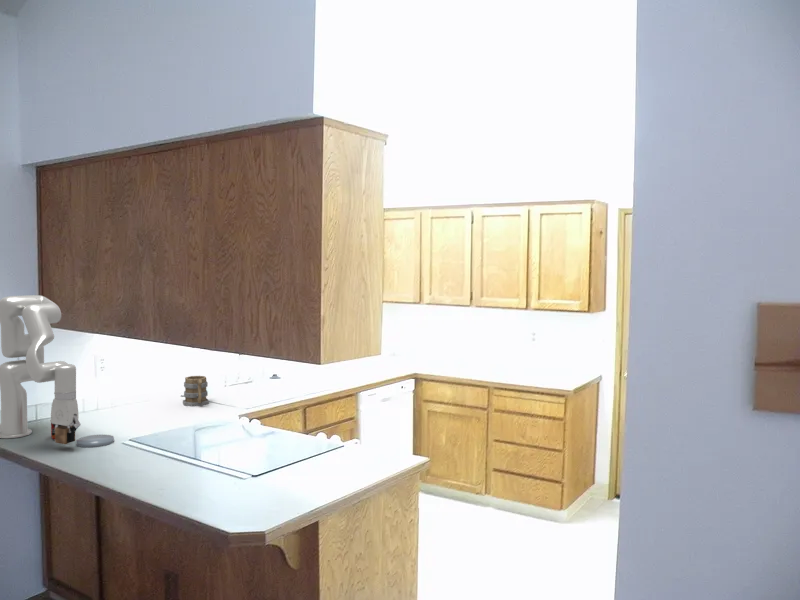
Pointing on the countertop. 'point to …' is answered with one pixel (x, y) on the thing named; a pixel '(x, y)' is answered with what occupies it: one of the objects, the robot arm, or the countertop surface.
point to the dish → (94, 441)
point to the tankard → (195, 391)
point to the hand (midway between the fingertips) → (65, 440)
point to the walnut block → (61, 434)
